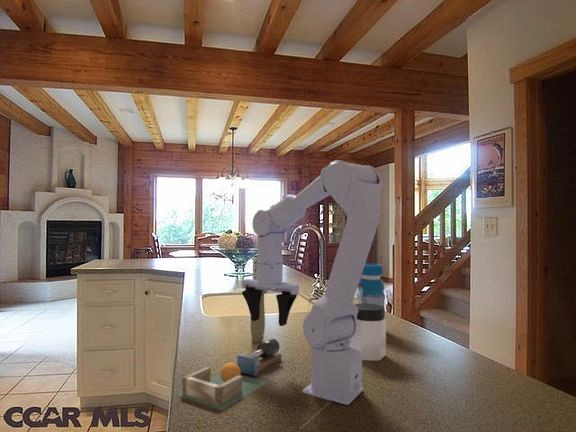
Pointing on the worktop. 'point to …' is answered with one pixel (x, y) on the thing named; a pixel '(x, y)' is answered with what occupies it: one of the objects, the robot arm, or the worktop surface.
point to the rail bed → (268, 361)
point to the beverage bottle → (371, 285)
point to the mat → (247, 388)
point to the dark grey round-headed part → (250, 361)
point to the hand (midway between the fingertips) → (268, 322)
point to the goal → (211, 387)
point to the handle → (259, 323)
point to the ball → (229, 371)
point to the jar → (370, 332)
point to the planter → (256, 268)
